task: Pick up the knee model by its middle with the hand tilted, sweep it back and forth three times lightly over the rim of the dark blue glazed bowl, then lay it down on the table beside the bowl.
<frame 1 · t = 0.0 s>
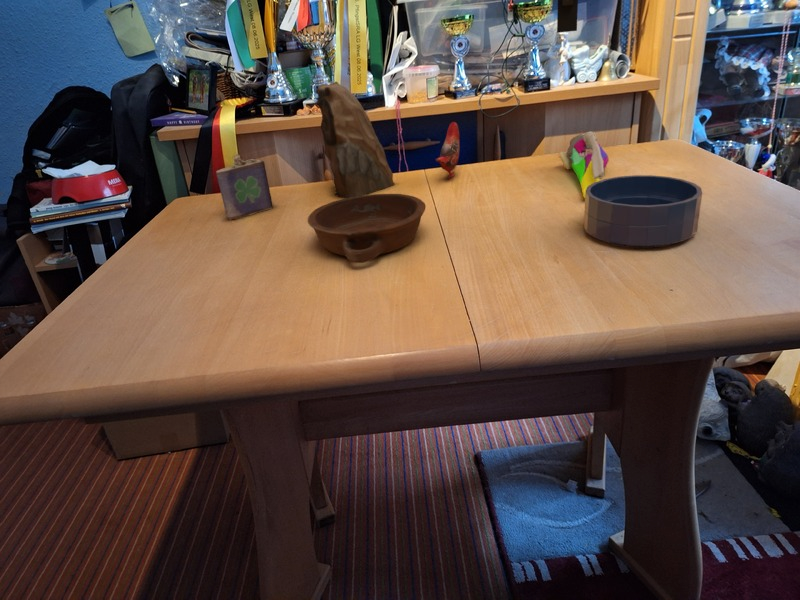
hand: (567, 29, 86), 25 cm above the table, tool pointing down, fingers open, 13 cm apart
dish: (370, 242, 85), on the table
flask: (250, 214, 105), on the table
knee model: (585, 181, 101), on the table
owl: (362, 189, 112), on the table
bowl: (637, 232, 77), on the table
decorative bird figurine: (449, 181, 111), on the table
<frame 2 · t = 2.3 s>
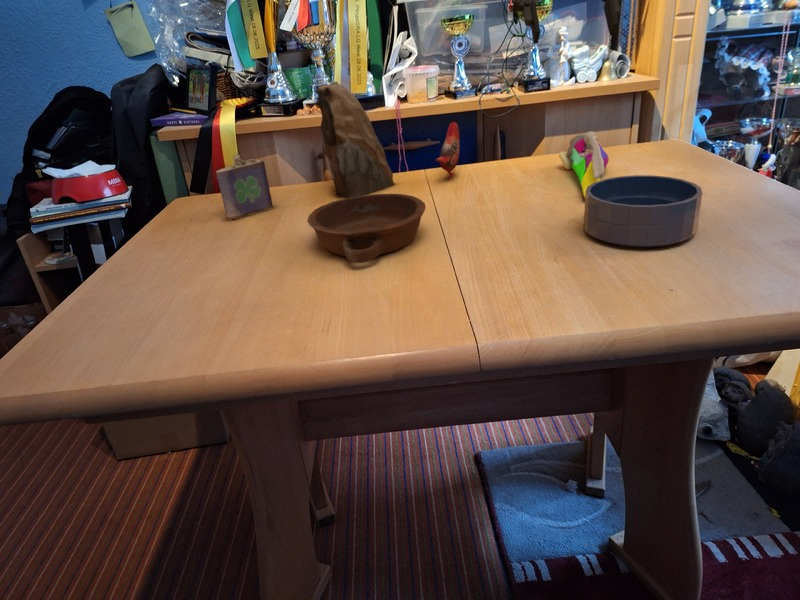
hand: (575, 34, 100), 24 cm above the table, tool tilted 45°, fingers open, 13 cm apart
nothing on the table moved.
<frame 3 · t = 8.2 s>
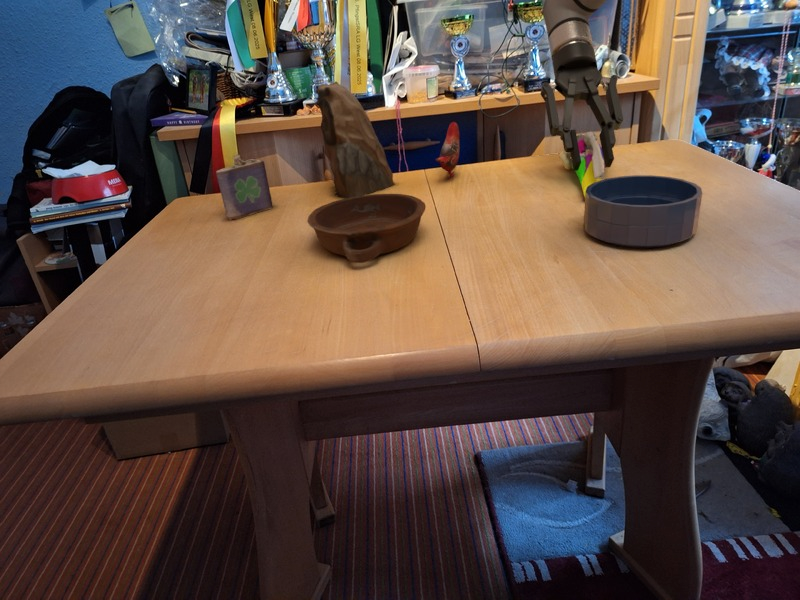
hand: (593, 164, 96), 4 cm above the table, tool tilted 45°, fingers closed on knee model, 5 cm apart
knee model: (585, 182, 101), on the table, touching gripper
everything else where it was.
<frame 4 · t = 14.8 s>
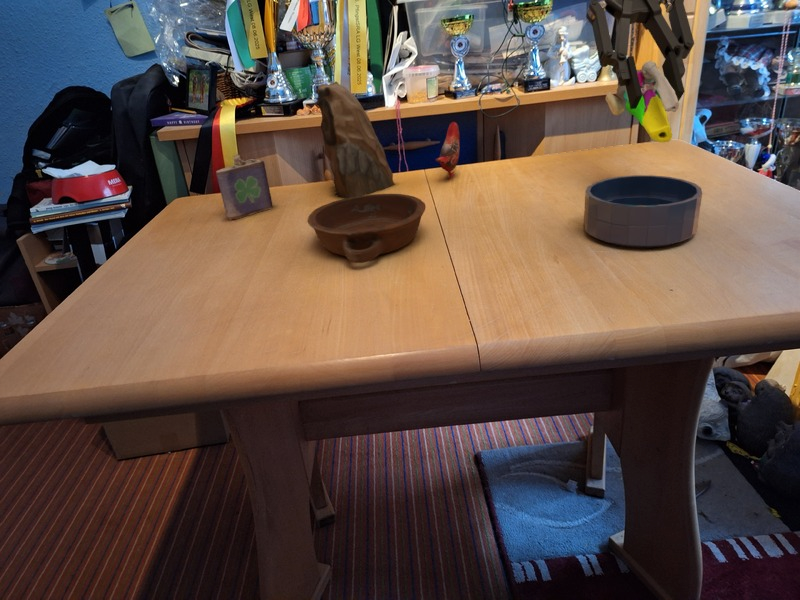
hand: (657, 100, 76), 16 cm above the table, tool tilted 45°, fingers closed on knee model, 5 cm apart
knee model: (642, 125, 81), point 12 cm above the table, touching gripper
everything else where it was.
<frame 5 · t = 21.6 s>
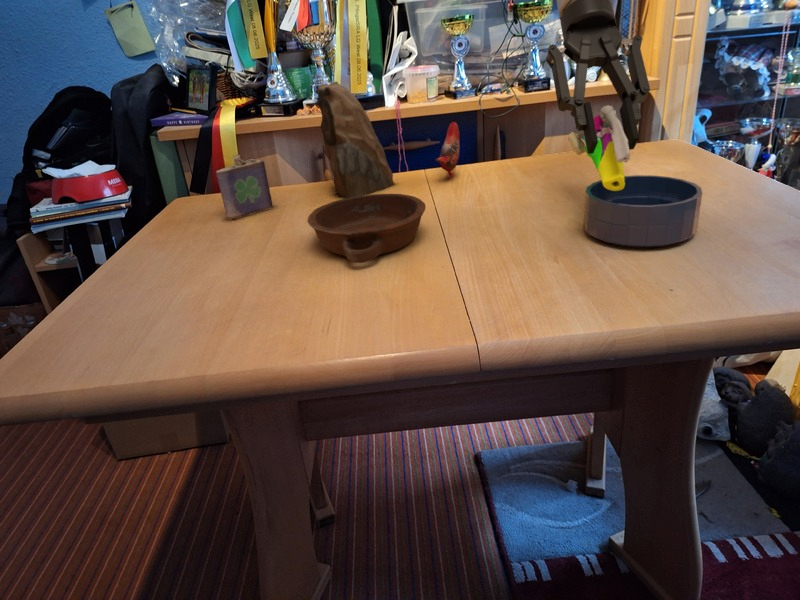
hand: (613, 145, 77), 11 cm above the table, tool tilted 45°, fingers closed on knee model, 5 cm apart
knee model: (601, 168, 82), point 7 cm above the table, touching gripper
everything else where it was.
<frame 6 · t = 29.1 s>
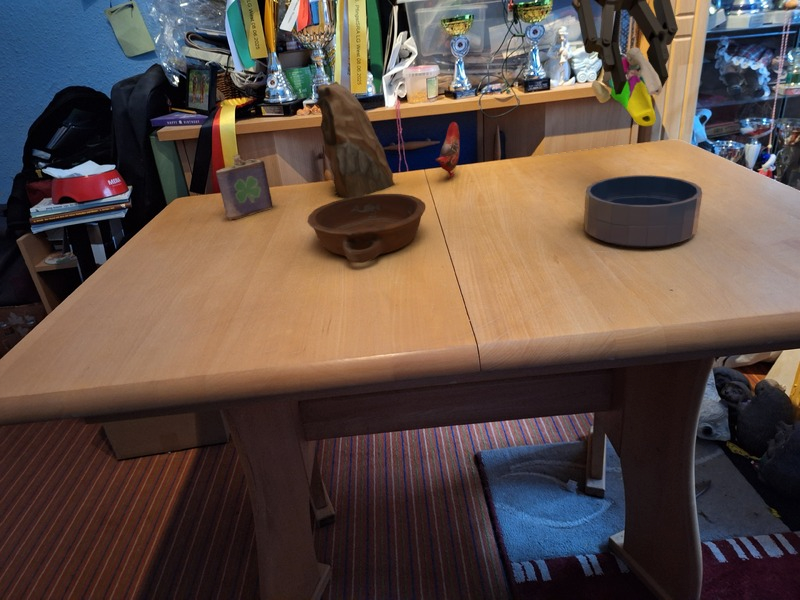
hand: (641, 85, 76), 18 cm above the table, tool tilted 45°, fingers closed on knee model, 5 cm apart
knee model: (628, 112, 81), point 14 cm above the table, touching gripper
everything else where it was.
when the fingers open (4 cm above the table, at t = 35.4 s): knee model stays where it is, on the table.
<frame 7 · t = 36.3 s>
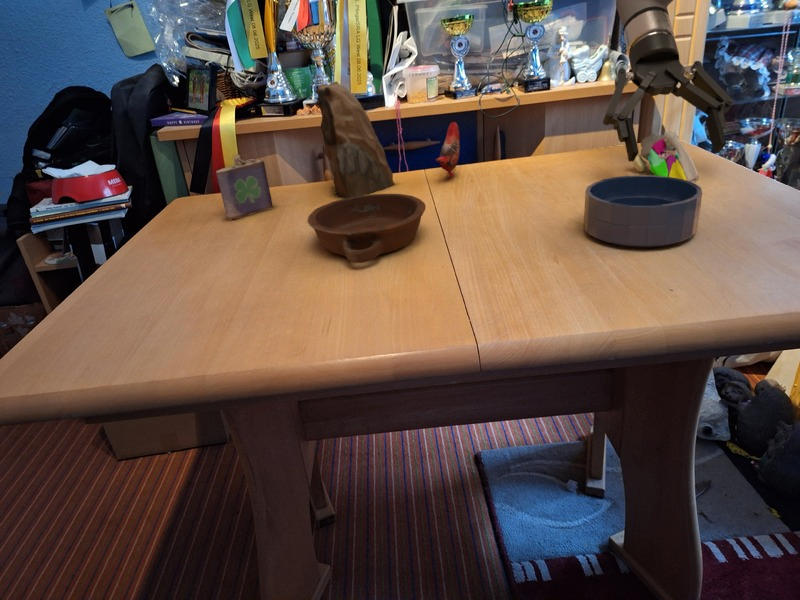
hand: (676, 153, 90), 6 cm above the table, tool tilted 45°, fingers open, 13 cm apart
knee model: (664, 185, 95), on the table
everything else where it was.
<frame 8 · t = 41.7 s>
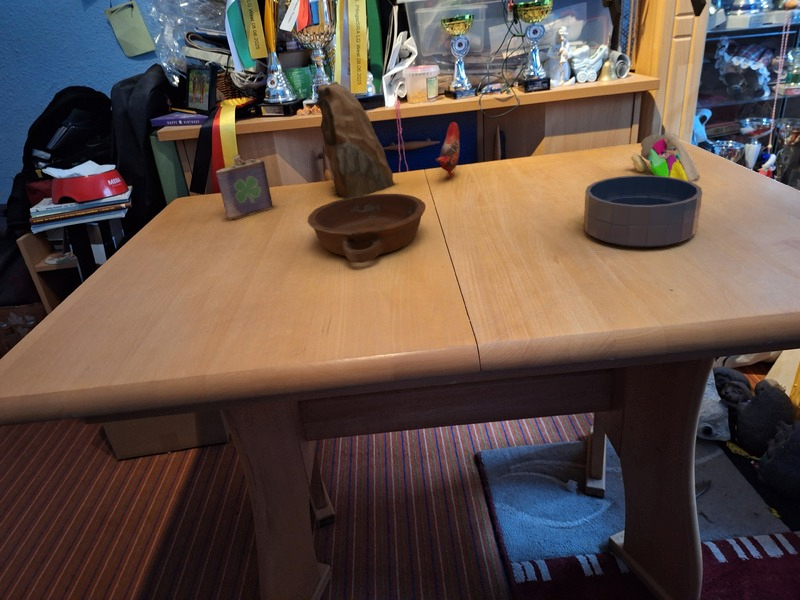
hand: (658, 15, 93), 26 cm above the table, tool tilted 45°, fingers open, 13 cm apart
nothing on the table moved.
at the end: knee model moved 13.3 cm from its start; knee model inside the target area on the table beside the bowl (0.2 cm from its centre), on the table; the gripper is holding nothing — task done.
